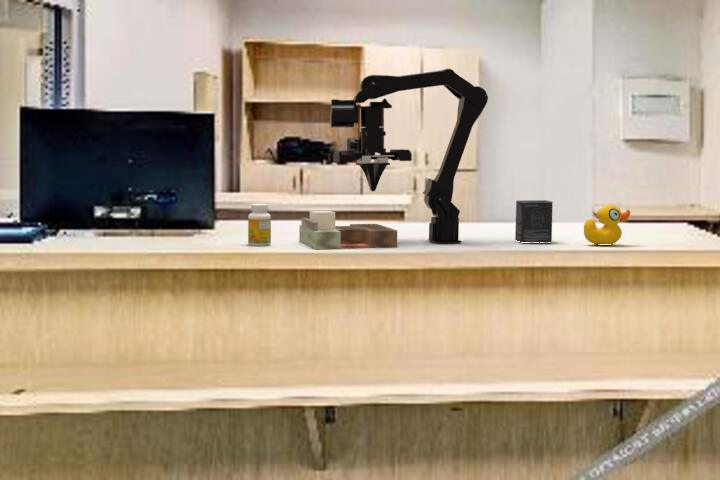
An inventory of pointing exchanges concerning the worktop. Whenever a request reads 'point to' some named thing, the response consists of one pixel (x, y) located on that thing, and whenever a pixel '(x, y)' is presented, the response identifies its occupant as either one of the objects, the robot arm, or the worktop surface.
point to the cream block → (323, 219)
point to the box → (534, 221)
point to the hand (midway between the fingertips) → (372, 191)
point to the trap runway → (347, 236)
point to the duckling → (606, 226)
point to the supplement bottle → (259, 225)
